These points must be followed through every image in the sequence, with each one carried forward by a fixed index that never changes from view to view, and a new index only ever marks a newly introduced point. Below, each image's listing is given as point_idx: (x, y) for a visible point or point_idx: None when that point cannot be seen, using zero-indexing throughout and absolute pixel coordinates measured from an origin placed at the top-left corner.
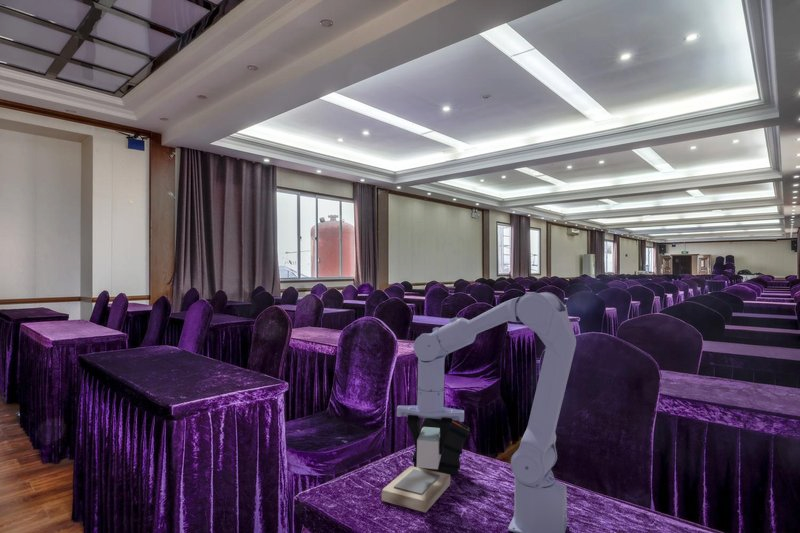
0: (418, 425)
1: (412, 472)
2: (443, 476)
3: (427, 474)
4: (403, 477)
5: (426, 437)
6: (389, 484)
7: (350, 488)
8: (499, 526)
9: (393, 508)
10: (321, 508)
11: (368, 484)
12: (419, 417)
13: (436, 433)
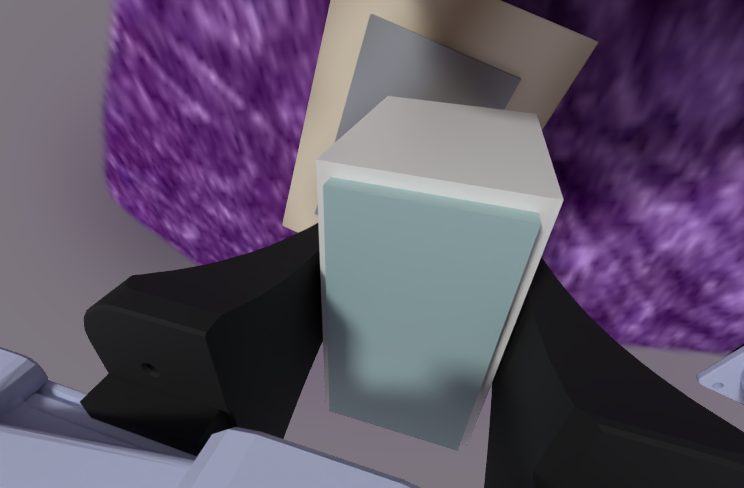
0: (279, 406)
1: (367, 66)
2: (544, 74)
3: (448, 82)
4: (333, 116)
5: (380, 413)
6: (294, 185)
7: (179, 131)
8: (677, 350)
9: None
10: (176, 246)
11: (217, 90)
12: (233, 418)
13: (466, 363)
